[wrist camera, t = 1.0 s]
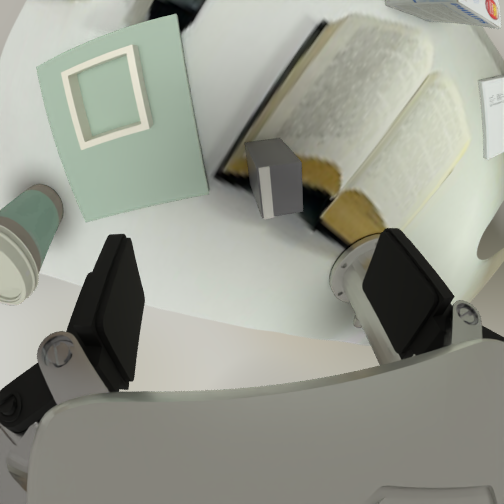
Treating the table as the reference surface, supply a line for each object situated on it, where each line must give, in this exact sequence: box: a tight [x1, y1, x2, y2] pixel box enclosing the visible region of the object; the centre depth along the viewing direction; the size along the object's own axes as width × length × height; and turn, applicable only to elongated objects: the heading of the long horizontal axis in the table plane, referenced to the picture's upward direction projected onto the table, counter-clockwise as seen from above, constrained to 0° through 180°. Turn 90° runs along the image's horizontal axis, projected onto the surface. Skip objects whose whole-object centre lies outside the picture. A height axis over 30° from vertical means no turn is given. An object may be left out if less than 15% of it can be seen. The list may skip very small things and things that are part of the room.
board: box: [36, 14, 209, 222], centre depth 22 cm, size 18×14×1 cm
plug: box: [245, 138, 303, 219], centre depth 25 cm, size 4×4×7 cm
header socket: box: [61, 44, 154, 150], centre depth 19 cm, size 8×7×2 cm
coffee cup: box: [0, 184, 63, 306], centre depth 21 cm, size 8×8×12 cm
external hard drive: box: [478, 75, 504, 160], centre depth 26 cm, size 2×8×12 cm
